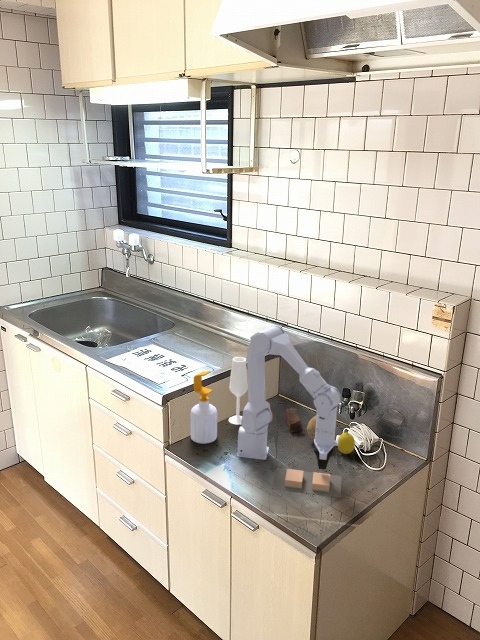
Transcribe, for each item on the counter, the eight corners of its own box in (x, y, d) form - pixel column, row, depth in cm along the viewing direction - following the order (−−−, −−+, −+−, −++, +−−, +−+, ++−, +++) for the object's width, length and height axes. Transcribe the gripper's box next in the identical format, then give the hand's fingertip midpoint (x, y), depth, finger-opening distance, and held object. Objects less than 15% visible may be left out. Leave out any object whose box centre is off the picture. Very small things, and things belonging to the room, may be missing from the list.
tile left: (286, 475, 171) (284, 486, 165) (287, 468, 170) (285, 479, 164) (303, 477, 170) (301, 488, 164) (303, 470, 169) (302, 482, 164)
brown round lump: (300, 437, 194) (302, 411, 190) (323, 433, 197) (325, 408, 194) (313, 450, 186) (315, 423, 182) (336, 446, 189) (339, 419, 186)
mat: (272, 489, 164) (272, 488, 164) (276, 469, 174) (276, 468, 174) (340, 498, 161) (341, 497, 161) (341, 477, 171) (341, 476, 171)
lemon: (353, 459, 181) (355, 437, 178) (336, 457, 182) (338, 435, 179) (353, 450, 186) (355, 429, 184) (336, 448, 187) (338, 427, 185)
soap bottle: (207, 447, 186) (207, 379, 179) (185, 439, 191) (184, 372, 183) (222, 435, 193) (223, 370, 186) (200, 428, 198) (200, 364, 190)
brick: (284, 419, 206) (285, 407, 205) (295, 419, 207) (295, 407, 205) (289, 433, 196) (290, 421, 195) (300, 433, 197) (301, 421, 195)
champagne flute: (234, 426, 200) (236, 364, 193) (225, 418, 206) (226, 357, 198) (250, 421, 204) (252, 360, 196) (240, 414, 209) (242, 354, 202)
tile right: (313, 478, 169) (311, 489, 164) (313, 472, 169) (312, 483, 163) (329, 480, 168) (329, 492, 163) (330, 474, 168) (329, 485, 162)
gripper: (338, 441, 156) (335, 483, 160) (339, 417, 170) (336, 456, 174) (313, 438, 157) (310, 480, 162) (316, 415, 171) (313, 454, 175)
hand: (322, 467), depth 168 cm, fingers closed
